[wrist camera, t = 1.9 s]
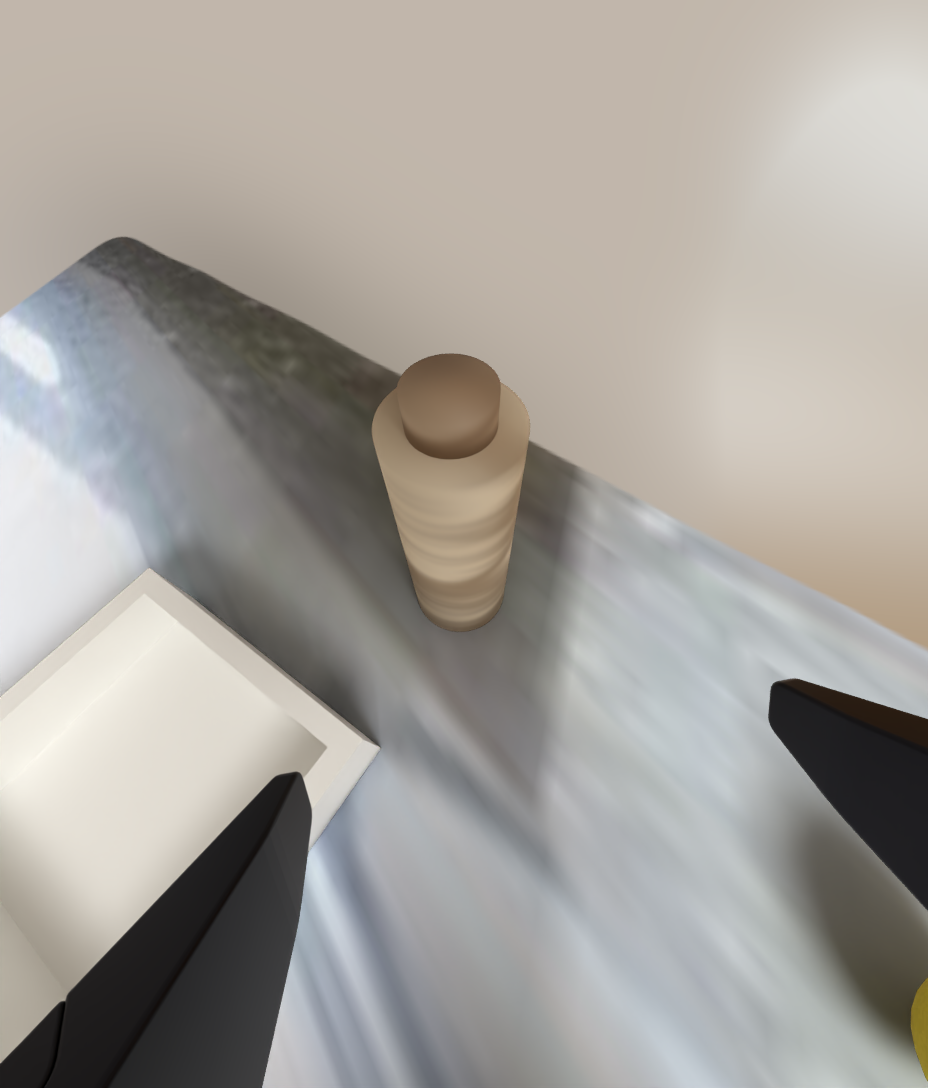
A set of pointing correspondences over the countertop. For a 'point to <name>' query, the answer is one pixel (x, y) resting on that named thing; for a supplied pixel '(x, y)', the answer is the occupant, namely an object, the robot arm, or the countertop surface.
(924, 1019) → the lemon
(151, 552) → the countertop surface
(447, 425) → the pepper mill
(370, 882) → the countertop surface
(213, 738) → the bin
